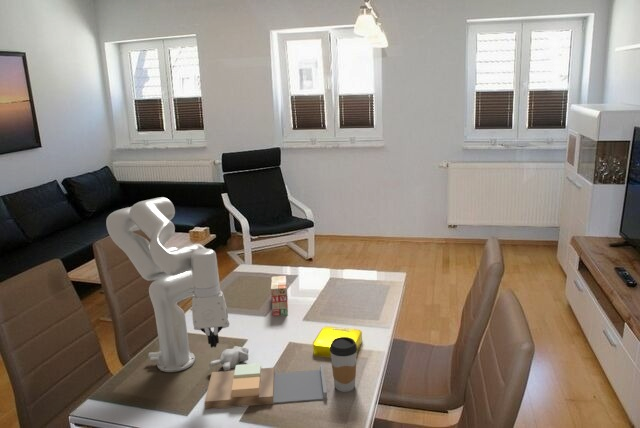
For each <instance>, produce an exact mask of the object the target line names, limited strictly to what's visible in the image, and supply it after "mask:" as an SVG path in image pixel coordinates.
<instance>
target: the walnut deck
mask: <svg viewBox="0 0 640 428" xmlns="http://www.w3.org/2000/svg"><path fill="white" fill-rule="evenodd" d="M234 373H235V369H234V370H224V371H212V372H211V375H210V378H209V383H208V387H207V390H206V395H205V399H204V409H205V410H208V409H209V410H211V409H213V410H214V409H222V408H223V409H224V408H225V409H226V408H234V407H246V406H248V407H249V406H260V405H274V404H273V397H274V373H275V367H264V368H262V367H261V380H260V394H259V395H257V396H245V397H232V385H233V379H234Z"/></svg>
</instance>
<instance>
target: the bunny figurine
mask: <svg viewBox="0 0 640 428" xmlns="http://www.w3.org/2000/svg"><path fill="white" fill-rule="evenodd" d="M246 361H249V348H246V347H243V346H237V345H235V346H233V348H225V349H223V351H222V352H221V354H220V357H219V359H215V360H212V361H210V363H209V365H208V366H209V367H214V366H217V365H219V364H221V366H222V368H223V370H224V371H230V369H235V367H236V365H239V363H242V362H246Z"/></svg>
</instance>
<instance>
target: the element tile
mask: <svg viewBox="0 0 640 428" xmlns="http://www.w3.org/2000/svg"><path fill="white" fill-rule="evenodd" d="M339 337H349V338H352V339H353V340H354V341H355V343H356V345H357V351H356V355H358V351H359V350H360V348H361V345H362V343H363V331H362V330H361V329H357V328H356V329H355V328H348V327H347V328H346V327H335V326H324V327H322V328H321V330H320V331H319V333H318V334H317V336H316V338H315V339H314V341H313V342H312V352H313V355H314V356H316V357H322V358H330V359H331V352H330V345H331V342H332V340H334V339H336V338H339Z"/></svg>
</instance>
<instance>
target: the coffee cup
mask: <svg viewBox="0 0 640 428" xmlns="http://www.w3.org/2000/svg"><path fill="white" fill-rule="evenodd" d="M356 351H357V345H356V343H355V341H354V340H353V339H352V338H349V337H339V338H336V339H334V340H332V342H331V345H330V352H331V358H330V359H331V368H332V376H333V383H334V387H335V390H337V391H338V392H342V393H349V392H351V391H353V390H354V388H355V386H356V376H357V375H356V374H357V354H356Z"/></svg>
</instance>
